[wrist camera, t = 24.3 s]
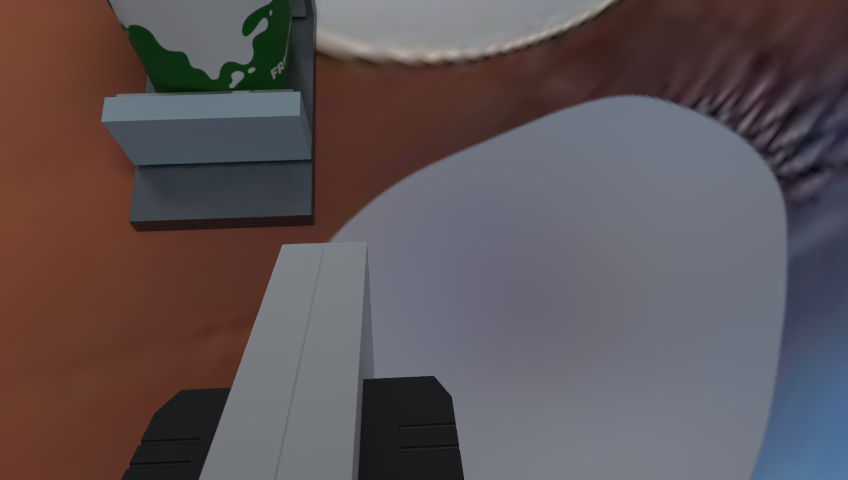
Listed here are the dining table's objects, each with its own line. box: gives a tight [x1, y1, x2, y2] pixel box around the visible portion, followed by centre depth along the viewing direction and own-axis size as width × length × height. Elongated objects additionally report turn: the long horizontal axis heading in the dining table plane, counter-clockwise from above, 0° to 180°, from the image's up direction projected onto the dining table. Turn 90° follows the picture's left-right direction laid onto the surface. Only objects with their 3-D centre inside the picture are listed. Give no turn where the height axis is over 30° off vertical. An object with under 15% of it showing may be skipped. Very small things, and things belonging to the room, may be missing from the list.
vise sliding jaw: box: [101, 89, 312, 165], centre depth 42 cm, size 2×11×5 cm, turn 93°
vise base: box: [129, 0, 317, 231], centre depth 44 cm, size 17×11×6 cm, turn 3°
